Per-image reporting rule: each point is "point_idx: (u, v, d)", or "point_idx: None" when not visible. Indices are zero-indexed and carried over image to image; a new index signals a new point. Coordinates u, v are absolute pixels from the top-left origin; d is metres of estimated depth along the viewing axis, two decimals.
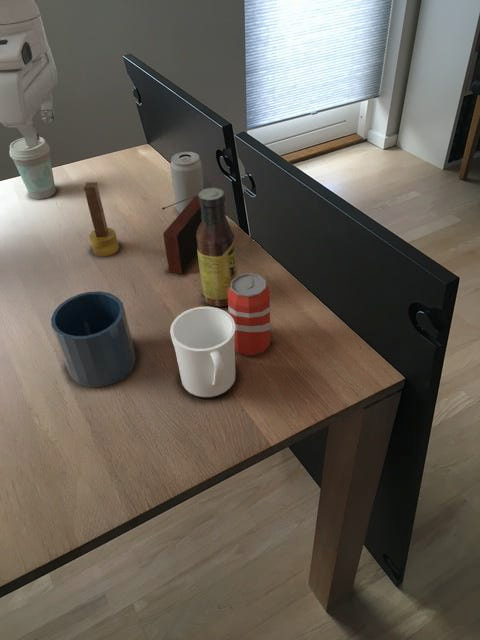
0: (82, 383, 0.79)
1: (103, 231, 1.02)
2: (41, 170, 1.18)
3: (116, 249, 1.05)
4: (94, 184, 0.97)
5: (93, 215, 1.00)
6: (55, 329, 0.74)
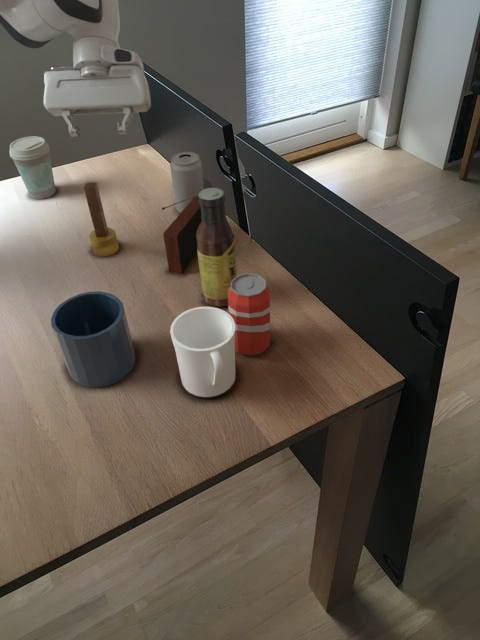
0: (82, 383, 0.79)
1: (103, 231, 1.02)
2: (41, 170, 1.18)
3: (116, 249, 1.05)
4: (94, 184, 0.97)
5: (93, 215, 1.00)
6: (55, 329, 0.74)
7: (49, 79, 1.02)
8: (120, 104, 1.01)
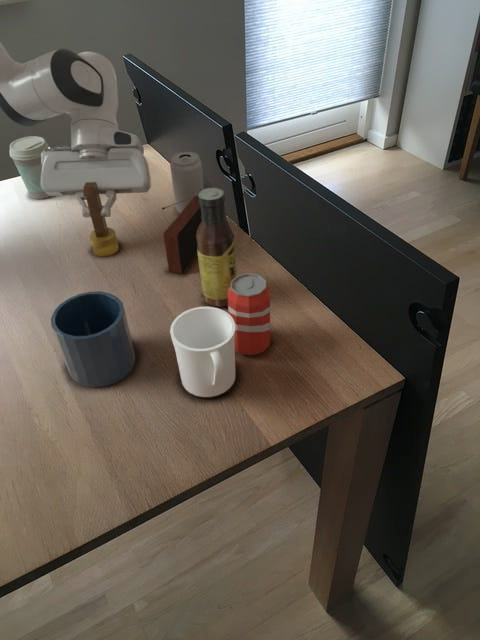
0: (82, 383, 0.79)
1: (103, 231, 1.02)
2: (41, 170, 1.18)
3: (116, 249, 1.05)
4: (94, 184, 0.97)
5: (93, 215, 1.00)
6: (55, 329, 0.74)
7: (46, 160, 1.00)
8: (119, 187, 0.99)
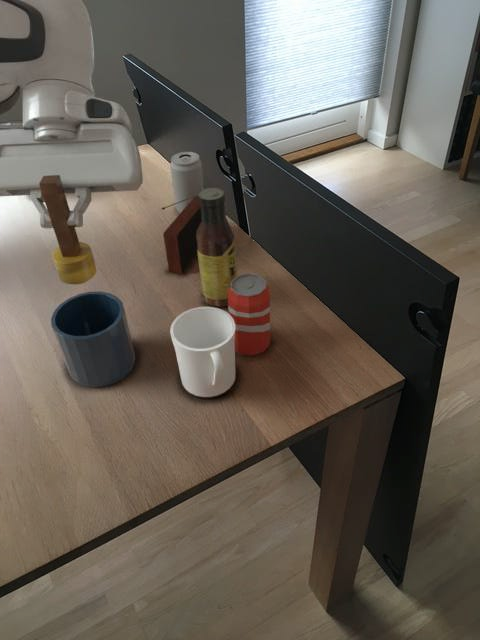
0: (82, 383, 0.79)
1: (72, 248, 0.69)
2: None
3: (92, 274, 0.72)
4: (55, 178, 0.64)
5: (56, 225, 0.67)
6: (55, 329, 0.74)
7: None
8: (95, 182, 0.66)
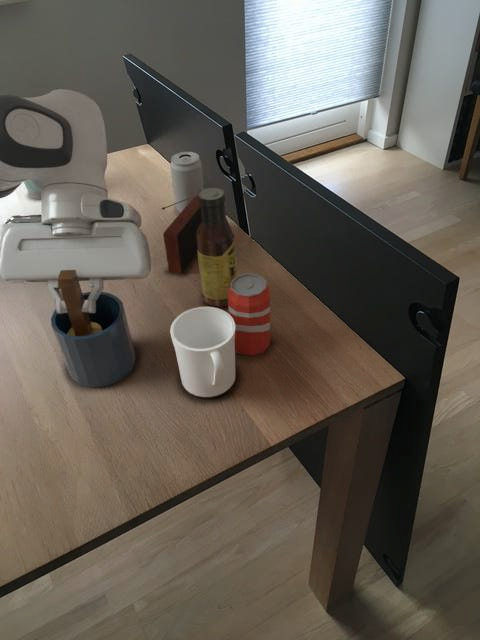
0: (82, 383, 0.79)
1: (85, 331, 0.75)
2: None
3: None
4: (72, 274, 0.70)
5: (71, 312, 0.73)
6: (55, 329, 0.74)
7: (7, 238, 0.72)
8: (108, 275, 0.72)
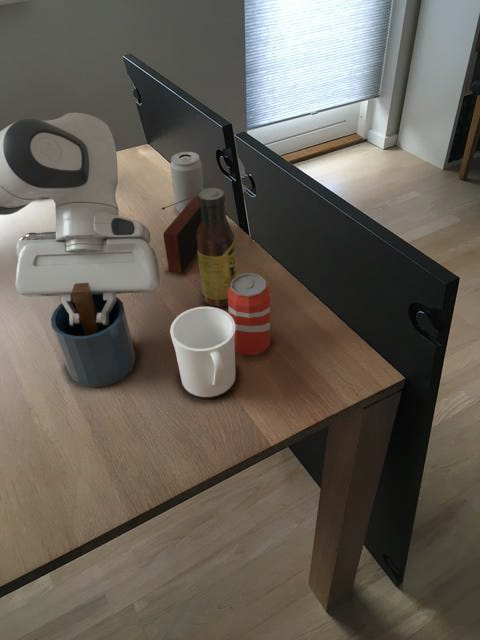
0: (82, 383, 0.79)
1: None
2: None
3: None
4: (85, 286, 0.73)
5: (85, 323, 0.76)
6: (55, 329, 0.74)
7: (23, 254, 0.76)
8: (119, 289, 0.76)
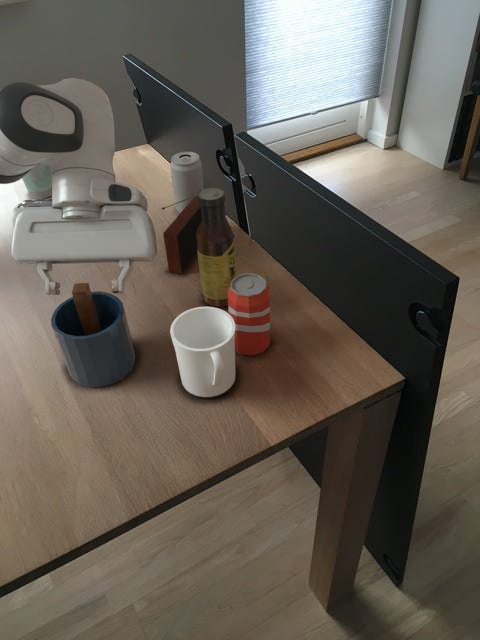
0: (82, 383, 0.79)
1: None
2: (41, 170, 1.18)
3: None
4: (85, 286, 0.73)
5: (85, 323, 0.76)
6: (55, 329, 0.74)
7: (19, 221, 0.75)
8: (116, 256, 0.75)
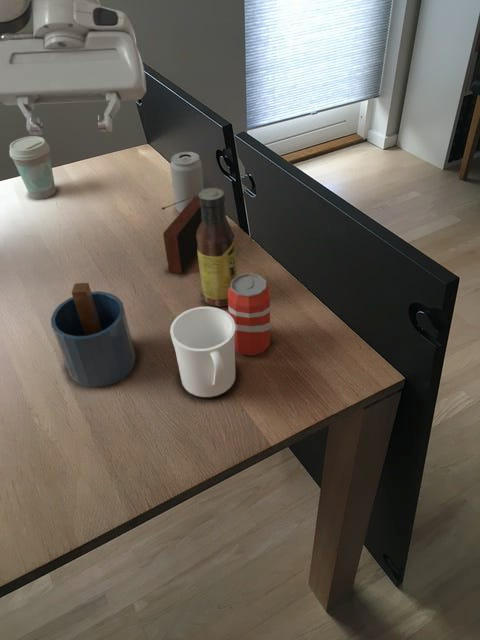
0: (82, 383, 0.79)
1: None
2: (41, 170, 1.18)
3: None
4: (85, 286, 0.73)
5: (85, 323, 0.76)
6: (55, 329, 0.74)
7: None
8: (102, 88, 0.70)
